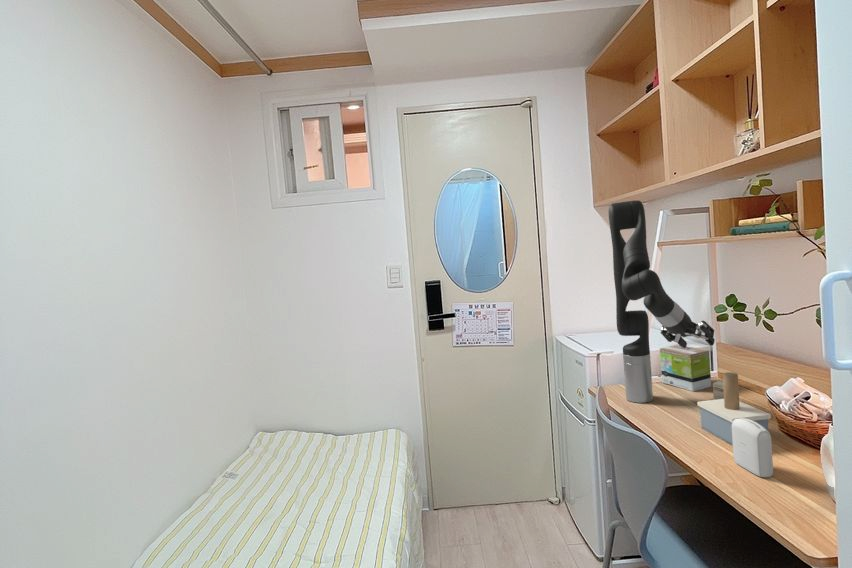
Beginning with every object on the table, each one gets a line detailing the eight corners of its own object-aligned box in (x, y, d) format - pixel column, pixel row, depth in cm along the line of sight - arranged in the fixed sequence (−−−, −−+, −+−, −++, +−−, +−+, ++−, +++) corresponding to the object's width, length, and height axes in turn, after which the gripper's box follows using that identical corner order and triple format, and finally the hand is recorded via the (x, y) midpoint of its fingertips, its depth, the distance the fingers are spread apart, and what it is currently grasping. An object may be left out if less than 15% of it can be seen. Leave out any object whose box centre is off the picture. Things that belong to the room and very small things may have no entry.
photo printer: (730, 461, 129) (728, 415, 128) (746, 459, 129) (744, 413, 129) (759, 479, 119) (756, 429, 118) (776, 477, 119) (774, 427, 118)
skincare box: (713, 412, 164) (711, 382, 164) (721, 409, 166) (719, 379, 166) (729, 416, 160) (727, 385, 159) (737, 412, 162) (735, 382, 161)
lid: (697, 405, 152) (695, 369, 152) (731, 401, 153) (729, 366, 152) (732, 423, 136) (730, 383, 136) (770, 418, 137) (768, 378, 136)
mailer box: (701, 428, 152) (700, 405, 152) (732, 424, 153) (731, 402, 152) (734, 446, 137) (733, 422, 137) (769, 442, 138) (767, 418, 137)
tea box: (661, 383, 201) (658, 347, 200) (679, 379, 204) (677, 343, 203) (693, 392, 186) (690, 353, 186) (712, 387, 190) (710, 349, 189)
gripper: (696, 302, 147) (723, 331, 153) (651, 309, 158) (678, 336, 165) (692, 323, 144) (720, 352, 150) (647, 329, 155) (675, 356, 161)
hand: (698, 344), depth 157 cm, fingers open, 8 cm apart
